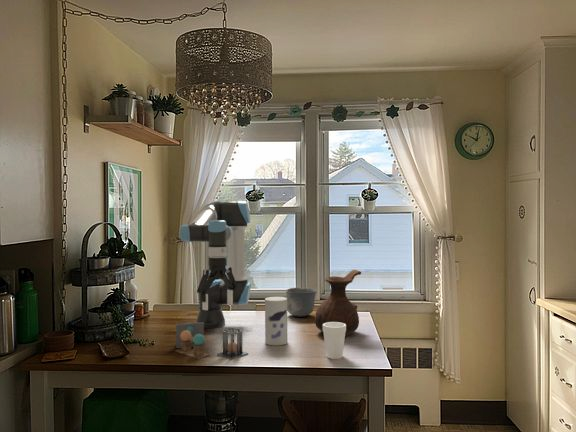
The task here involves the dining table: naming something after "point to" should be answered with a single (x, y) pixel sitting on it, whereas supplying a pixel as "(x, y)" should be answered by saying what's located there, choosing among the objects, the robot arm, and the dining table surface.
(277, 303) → the container
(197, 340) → the teal ball
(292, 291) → the bowl
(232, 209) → the robot arm
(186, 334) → the rack ball terracotta
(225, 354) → the grey barred cage
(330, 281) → the jug
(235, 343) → the tube ball
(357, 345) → the dining table surface
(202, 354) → the rack
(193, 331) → the grey upright block
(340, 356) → the foam cup
